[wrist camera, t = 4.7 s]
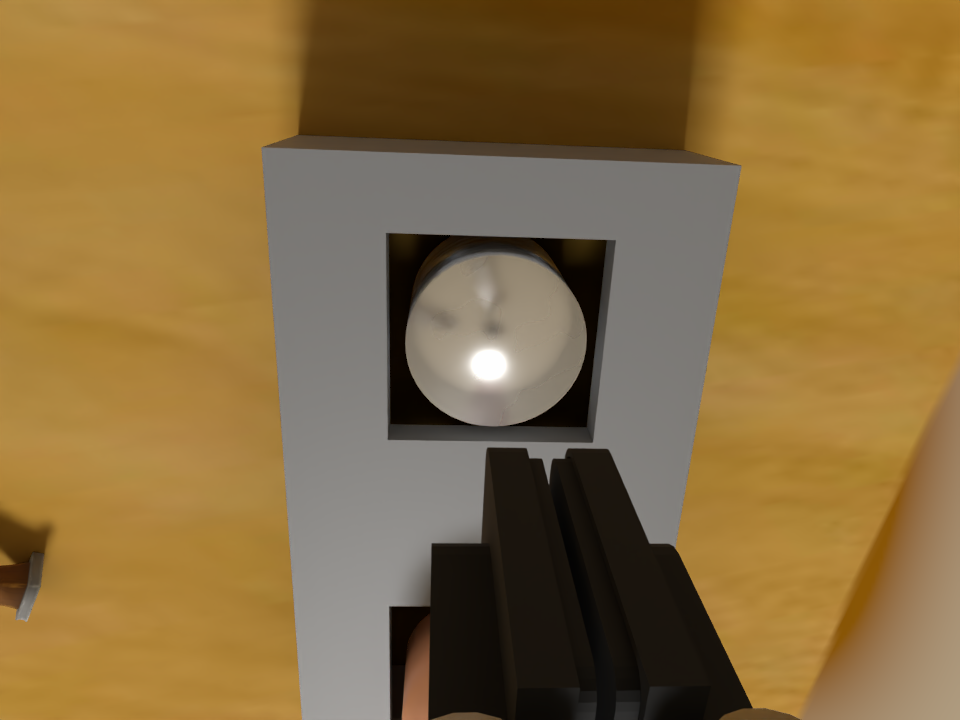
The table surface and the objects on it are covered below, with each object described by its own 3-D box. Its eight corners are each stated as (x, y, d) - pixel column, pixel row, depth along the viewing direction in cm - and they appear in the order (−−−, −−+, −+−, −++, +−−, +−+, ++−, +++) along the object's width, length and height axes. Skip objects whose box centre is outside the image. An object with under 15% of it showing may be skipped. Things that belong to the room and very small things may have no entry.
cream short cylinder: (412, 224, 22) (405, 252, 18) (570, 229, 22) (595, 258, 18) (411, 371, 24) (405, 424, 20) (557, 374, 24) (577, 427, 20)
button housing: (297, 135, 21) (261, 147, 17) (684, 150, 22) (741, 165, 18) (326, 684, 29) (306, 784, 25) (608, 682, 30) (635, 779, 26)
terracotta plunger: (406, 597, 23) (399, 694, 20) (553, 597, 24) (573, 692, 20) (406, 708, 25) (399, 815, 22) (542, 707, 26) (559, 813, 22)
